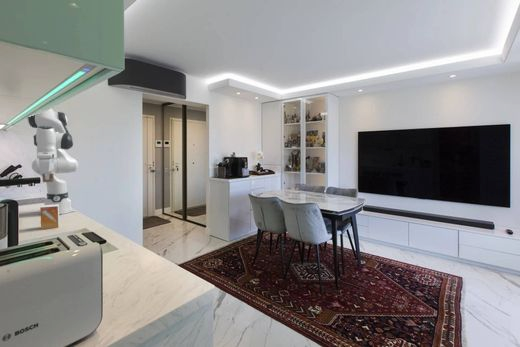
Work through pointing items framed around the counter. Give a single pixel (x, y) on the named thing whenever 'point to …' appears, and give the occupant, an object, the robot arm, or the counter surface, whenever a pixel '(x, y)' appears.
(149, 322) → the counter surface
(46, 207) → the small box
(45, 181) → the walnut cube
